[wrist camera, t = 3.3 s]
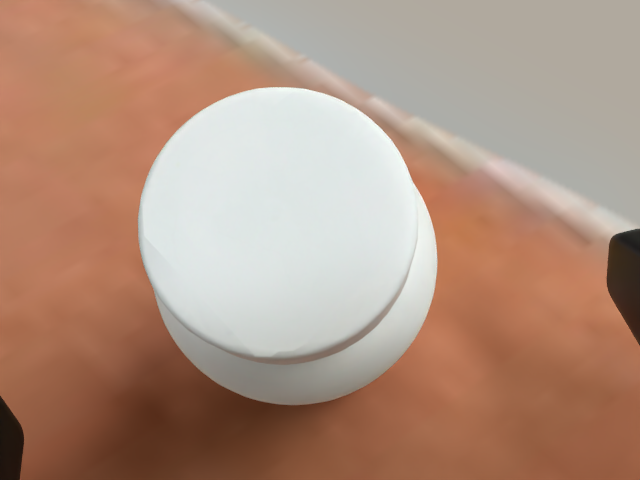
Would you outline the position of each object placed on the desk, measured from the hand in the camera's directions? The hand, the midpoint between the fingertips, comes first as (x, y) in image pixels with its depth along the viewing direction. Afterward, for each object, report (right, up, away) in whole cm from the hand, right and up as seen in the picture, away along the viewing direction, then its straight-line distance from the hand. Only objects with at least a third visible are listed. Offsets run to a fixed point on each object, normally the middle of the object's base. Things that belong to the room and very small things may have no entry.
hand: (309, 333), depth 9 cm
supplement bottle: (0, -1, +9) cm, 9 cm away
